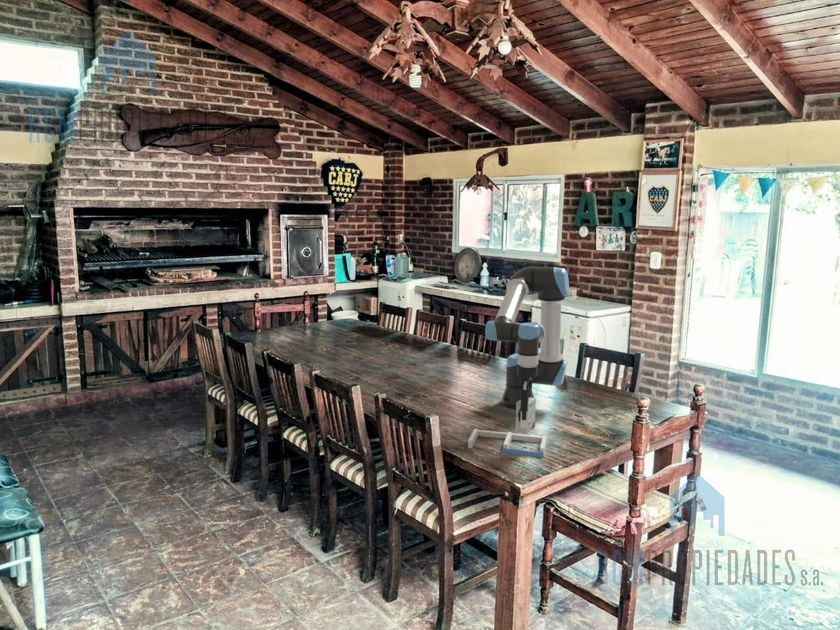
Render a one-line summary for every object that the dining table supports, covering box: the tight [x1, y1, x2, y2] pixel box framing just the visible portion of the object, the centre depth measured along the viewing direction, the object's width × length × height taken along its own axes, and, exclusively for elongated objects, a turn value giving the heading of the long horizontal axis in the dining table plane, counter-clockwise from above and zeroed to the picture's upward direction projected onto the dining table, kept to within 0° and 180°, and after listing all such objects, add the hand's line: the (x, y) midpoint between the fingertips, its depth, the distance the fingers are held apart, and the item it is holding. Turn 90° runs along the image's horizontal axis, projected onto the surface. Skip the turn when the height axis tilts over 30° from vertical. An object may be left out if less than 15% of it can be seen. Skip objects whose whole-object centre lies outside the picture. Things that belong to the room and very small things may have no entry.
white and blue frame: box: [467, 428, 548, 458], centre depth 247 cm, size 15×28×3 cm, turn 74°
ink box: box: [514, 397, 537, 435], centre depth 240 cm, size 9×5×12 cm, turn 149°
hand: (525, 422), depth 240 cm, fingers closed on ink box, 9 cm apart
